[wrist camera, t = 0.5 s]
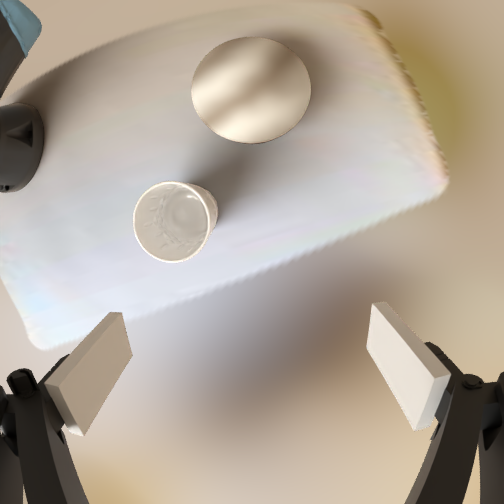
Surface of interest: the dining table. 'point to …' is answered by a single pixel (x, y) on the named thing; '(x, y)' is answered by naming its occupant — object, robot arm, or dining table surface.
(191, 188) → the white cup
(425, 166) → the dining table surface
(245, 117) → the cake stand
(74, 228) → the dining table surface
